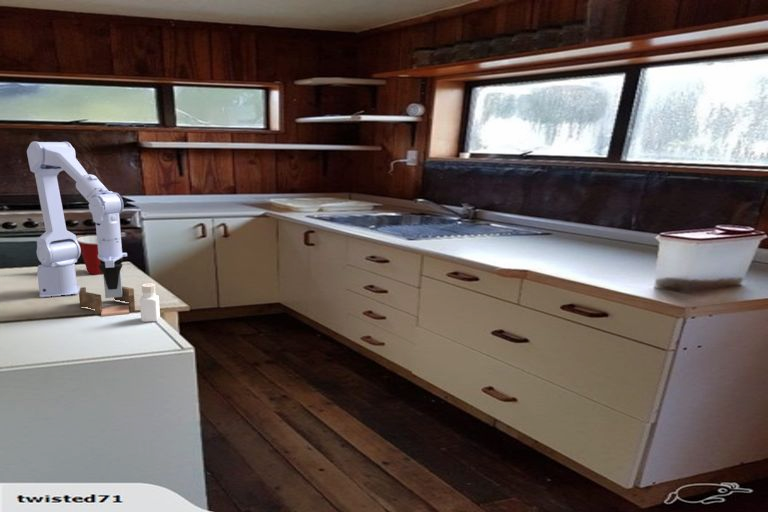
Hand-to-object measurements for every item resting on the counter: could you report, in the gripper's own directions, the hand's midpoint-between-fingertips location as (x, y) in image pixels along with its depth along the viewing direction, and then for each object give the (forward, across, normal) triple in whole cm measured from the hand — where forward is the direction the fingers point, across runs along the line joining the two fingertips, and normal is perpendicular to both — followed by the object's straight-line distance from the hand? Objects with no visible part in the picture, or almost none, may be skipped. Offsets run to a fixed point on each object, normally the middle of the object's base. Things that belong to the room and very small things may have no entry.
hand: (113, 286), depth 141 cm
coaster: (+6, -4, 0) cm, 7 cm away
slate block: (+2, 0, 0) cm, 2 cm away
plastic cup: (+6, +40, +6) cm, 41 cm away
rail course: (+6, +1, +2) cm, 6 cm away
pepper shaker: (+6, -13, -9) cm, 17 cm away
